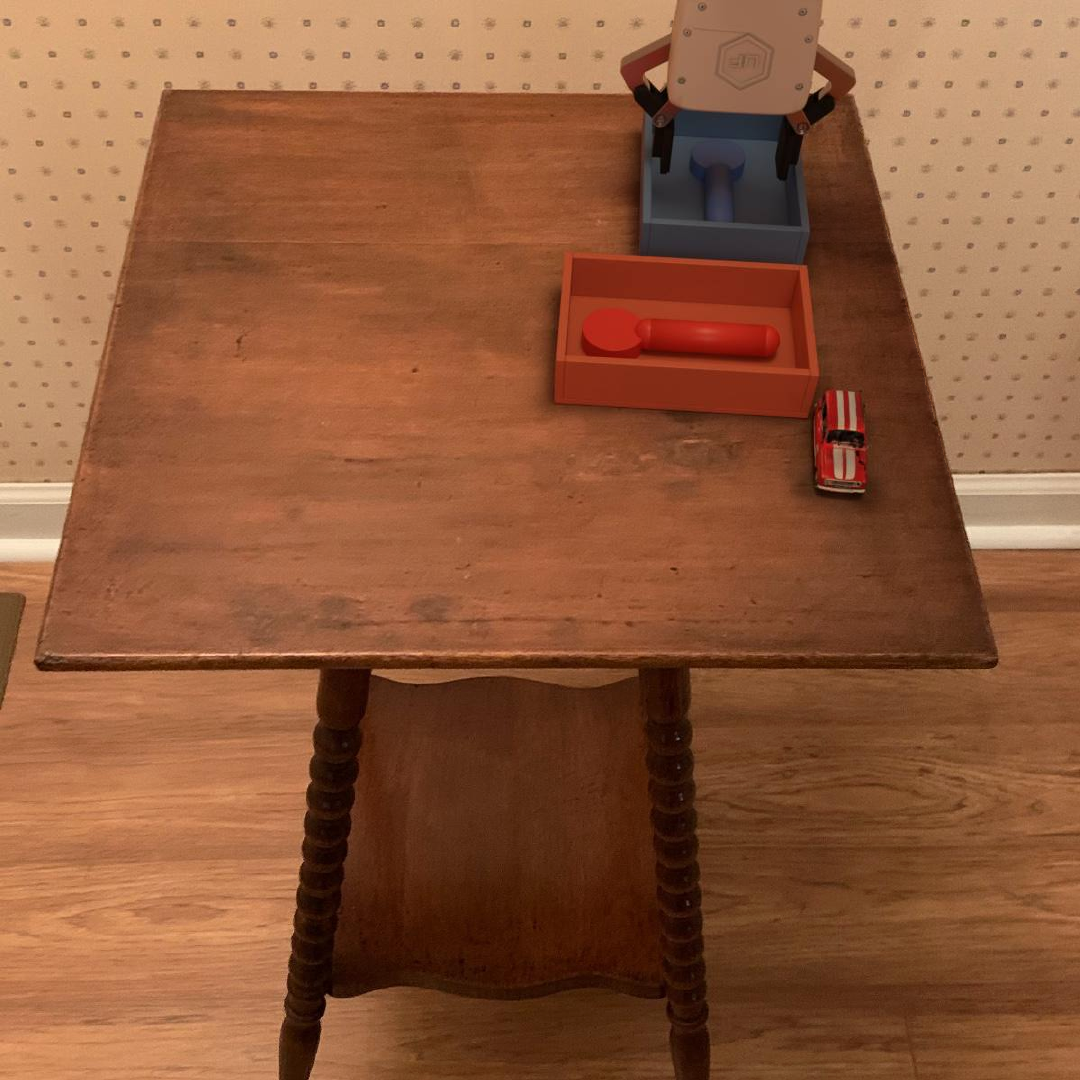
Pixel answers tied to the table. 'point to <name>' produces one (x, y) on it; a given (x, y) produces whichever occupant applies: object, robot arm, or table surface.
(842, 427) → the toy car
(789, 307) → the red bin
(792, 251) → the blue bin
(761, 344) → the red spoon
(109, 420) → the table surface
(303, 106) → the table surface
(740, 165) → the blue spoon
